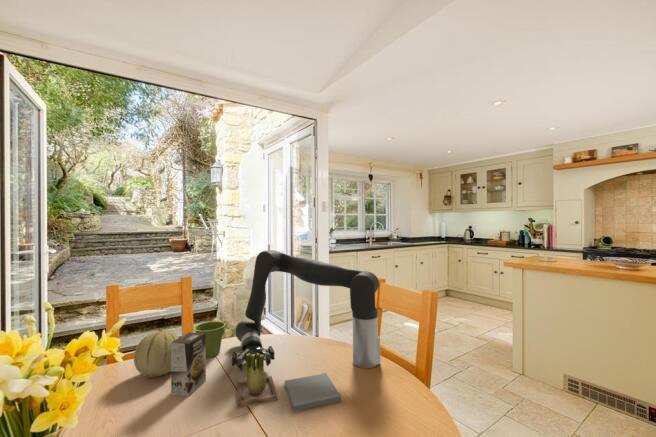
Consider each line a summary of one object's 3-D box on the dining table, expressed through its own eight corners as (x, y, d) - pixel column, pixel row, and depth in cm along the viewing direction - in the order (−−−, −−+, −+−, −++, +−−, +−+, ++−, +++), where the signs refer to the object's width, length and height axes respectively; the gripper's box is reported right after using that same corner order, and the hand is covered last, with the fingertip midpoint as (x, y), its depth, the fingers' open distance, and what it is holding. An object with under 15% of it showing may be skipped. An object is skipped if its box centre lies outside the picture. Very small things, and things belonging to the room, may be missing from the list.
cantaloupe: (138, 391, 94) (137, 343, 94) (130, 373, 105) (130, 330, 105) (188, 374, 104) (187, 331, 104) (176, 360, 115) (176, 320, 115)
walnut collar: (271, 379, 100) (271, 375, 100) (277, 399, 88) (277, 395, 88) (237, 385, 96) (237, 381, 96) (238, 407, 85) (238, 403, 85)
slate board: (326, 377, 101) (326, 373, 101) (341, 401, 87) (341, 396, 87) (284, 385, 96) (284, 380, 96) (293, 411, 83) (293, 406, 83)
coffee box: (188, 397, 90) (188, 343, 90) (170, 394, 92) (169, 342, 92) (206, 381, 99) (206, 332, 99) (189, 379, 101) (189, 331, 101)
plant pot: (232, 351, 122) (231, 323, 122) (206, 363, 112) (206, 333, 112) (213, 345, 128) (213, 319, 128) (187, 356, 118) (187, 327, 118)
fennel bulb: (244, 392, 92) (243, 353, 92) (257, 385, 96) (256, 348, 96) (255, 399, 89) (254, 359, 89) (268, 392, 92) (268, 353, 92)
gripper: (231, 338, 111) (231, 356, 95) (270, 333, 115) (276, 350, 100) (231, 358, 111) (232, 380, 95) (270, 352, 115) (276, 372, 100)
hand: (254, 365), depth 97 cm, fingers open, 8 cm apart
